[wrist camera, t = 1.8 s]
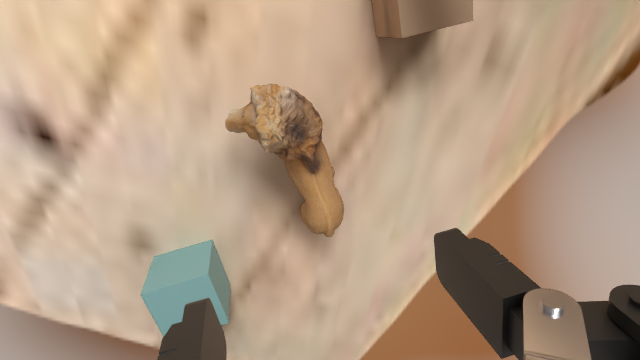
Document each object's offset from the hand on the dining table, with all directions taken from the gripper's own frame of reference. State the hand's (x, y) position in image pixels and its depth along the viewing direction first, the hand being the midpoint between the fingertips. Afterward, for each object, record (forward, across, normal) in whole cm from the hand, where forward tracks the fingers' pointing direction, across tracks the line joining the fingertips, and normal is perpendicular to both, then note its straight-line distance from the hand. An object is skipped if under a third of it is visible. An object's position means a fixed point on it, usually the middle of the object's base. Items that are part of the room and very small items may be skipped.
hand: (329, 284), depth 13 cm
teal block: (+19, +10, +10) cm, 23 cm away
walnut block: (+19, -12, -9) cm, 24 cm away
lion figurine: (+19, -1, +1) cm, 19 cm away
